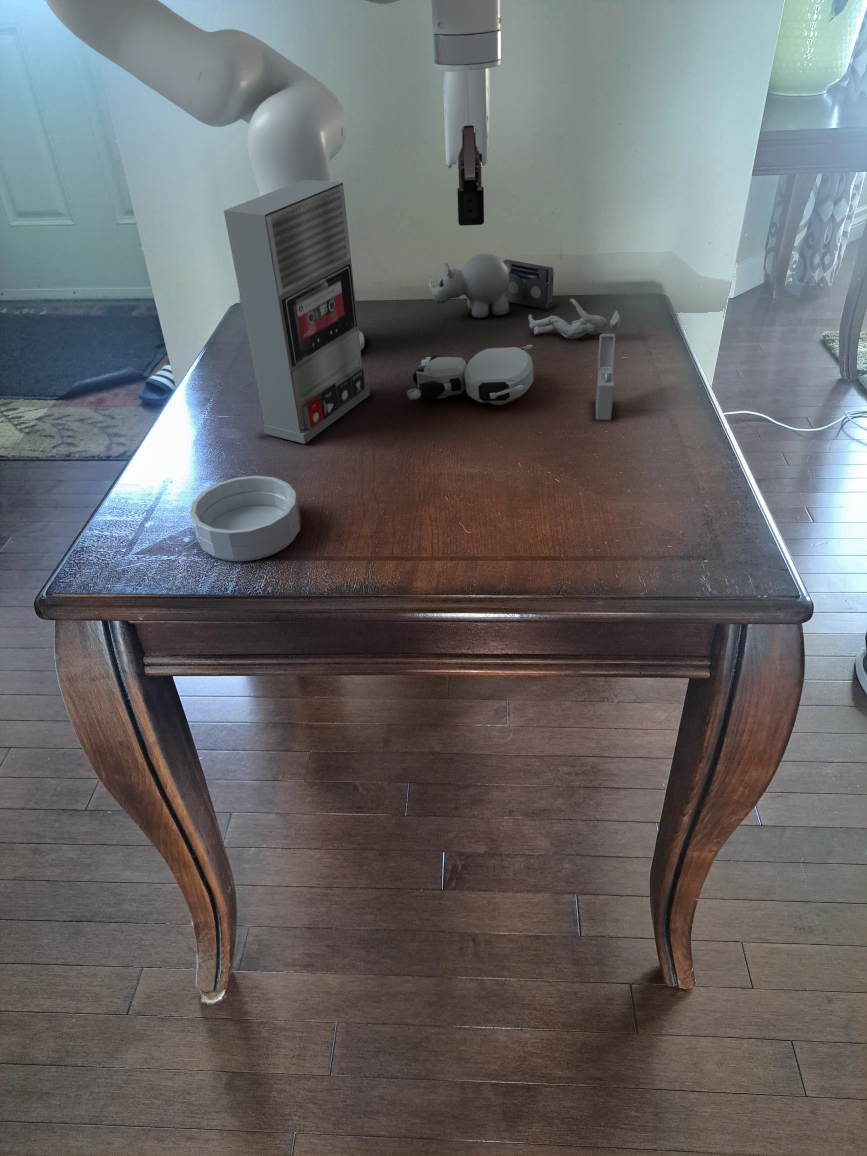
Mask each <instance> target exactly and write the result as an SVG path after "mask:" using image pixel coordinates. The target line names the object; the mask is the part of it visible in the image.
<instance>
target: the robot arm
mask: <svg viewBox="0 0 867 1156" xmlns="http://www.w3.org/2000/svg"><path fill="white" fill-rule="evenodd" d="M364 1H365V2H368V3H374V4H380V5H388V4H392V3H396V2H398V1H399V0H364ZM44 2H45V3H46V4H47V6H48V7H49V9H50V10H51V12H52V13H53V15H55V16H56V18H57V19H58V20H59V21H60V22H61V24H63V26H64V27H65V28H67V30H69V31H70V32H71V34H73V35H74V36H75V37H76V38H77V39H79V40H80V41H82V43H84V44H85V45H86V46H88V47H90V48H91V49H92V50H94V51H95V52H97V53H98V54H100V55H101V56H103V57H104V58H106V60H107V59H108V60H109V61H111V62H112V63H114V64H115V65H117V66H118V67H119V68H121V69H123V70H124V71H126V72H127V73H129V74H130V75H132V76H133V77H134V78H136V79H137V80H138V81H140V82H141V83H142V84H144V85H146V86H147V87H149V88H150V89H151V90H153V92H155V93H157V94H158V95H160V96H162V97H163V98H165V99H166V100H167V101H169V102H170V103H172V104H173V105H175V106H176V107H178V108H179V109H181V110H183V111H184V112H185V113H187V114H188V115H190V116H191V117H192V118H194V119H195V120H196V121H198V122H200V123H202V124H204V125H207V126H209V127H215V128H220V127H227V126H229V125H232V124H235V123H237V122H239V121H240V120H241V121H244V122H245V123H246V124H248V127H247V134H246V146H247V147H246V149H247V153H248V159H249V163H250V166H251V170H252V173H253V176H254V180H255V183H256V185H257V190H258V193H259V197H260V196H263V195H265V194H268V193H270V192H273V191H276V190H278V189H281V188H283V187H286V186H289V185H291V184H294V183H296V182H299V181H301V180H304V179H305V180H317V181H329V182H333V178H332V174H331V169H330V161H331V160H332V159H333V158H335V157H336V156H337V155H338V153H339V152H340V151H341V149H342V148H343V147H344V143H345V141H346V138H347V134H348V120H347V115H346V112H345V109H344V107H343V105H342V103H341V101H340V99H339V98H338V97H337V95H336V94H335V93H334V91H332V90H331V89H330V88H329V87H328V86H326V85H325V84H324V83H323V82H321V80H319V79H317V78H316V77H314V76H313V75H312V74H310V73H309V72H307V71H305V70H304V69H303V68H302V67H300V66H299V65H297V64H296V63H294V62H293V61H292V60H291V59H288V58H287V57H286V56H284V55H283V54H281V53H280V52H279V51H277V50H276V49H274V48H273V47H271V46H270V45H268V44H267V43H266V42H264V41H262V40H261V39H259V38H258V37H256V36H254V35H252V34H250V33H248V32H245V31H243V30H238V29H233V28H230V29H229V28H227V29H226V28H225V29H219V30H215V31H207V30H204V29H203V28H201V27H198V26H197V25H195V24H193V23H191V22H190V21H189V20H187V19H185V18H184V17H183V16H181V15H179V14H178V13H176V12H175V11H174V10H172V9H171V8H169V7H168V6H167V5H165V4H164V3H163V2H161V1H160V0H44ZM431 19H432V20H431V21H432V23H431V24H432V43H433V44H432V46H433V68H434V70H437V71H443V87H442V88H443V89H442V90H443V121H444V123H443V125H444V146H445V166H446V167H447V168H448V169H452V166H453V165H457V170H458V188H457V190H456V191H457V193H456V195H457V219H458V220H457V222H458V225H459V226H460V227H463V226H482V225H484V223H485V198H484V197H485V196H484V194H485V193H484V192H485V190H484V186H483V185H482V183H483V182H482V181H483V180H482V168H483V167H484V166H486V165H487V164H488V156H489V155H488V153H489V144H490V129H491V128H490V127H491V125H490V124H491V69H492V68H497V67H499V66H501V64H502V59H501V58H502V53H501V51H502V49H501V47H502V46H501V45H502V44H501V40H502V39H501V38H502V37H501V33H502V31H501V24H502V23H501V19H502V18H501V0H431ZM457 162H458V163H457ZM359 339H360V349H361V351H362V350H363V349H364V347H365V335H364V333H363V332H362V331H361V330H359Z"/></svg>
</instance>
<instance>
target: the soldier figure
mask: <svg viewBox="0 0 867 1156" xmlns="http://www.w3.org/2000/svg"><path fill="white" fill-rule="evenodd" d="M569 302H570V303H572V305H573V306H574V307H575V308H576V309H575V310H576V311H577V313H578V315H579V317H580V318H579V319H575V320H572V321H571V324H569V323H568V322H567V321H566V320H564V319H562V318H561V317H559V316H557V315H553V314H552V315H550V316H547V317H545V318H542V319H537V320H535V319H533V315H532V314H531V313H530V314H528V316H527V317H528V322H529V329H530V330H532V329H533V334H534V336H536V335H539V334H541V333H542V334H543V333H552V332H555V331H556V332H557V333H559V335H562V336H563V337H564V338H566V339H569V340H576V339H579V338H581V337H583V336H584V335H586V334H590V335H591V336H596V335H601V334H603V332H604V331H605V329H606V328H607V327H609V328H610V330H614V331H615V333H618V331H619V329H620V327H621V326H620V325H621V317H620V314H619V312H618V310H615V312H614V314H613V315H612V314H610V315H609V316H607V319H606V318H605V317H604V316H602V315H598V314H593V315H591V314H589V313H587V312H586V311H585V310H584V309H583V308H582V307H581V305H580V304H579V303H578V302H577V300H576V299H574V298H570V299H569ZM609 317H611V319H609Z"/></svg>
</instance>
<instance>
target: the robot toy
mask: <svg viewBox="0 0 867 1156" xmlns="http://www.w3.org/2000/svg"><path fill="white" fill-rule="evenodd" d="M533 346H534V345H533V344H527V345H525V346H523V347H517V346H515V347H513V346H511V347H493V348H486V349H484V350H481V351H479V352H477V353H476V354H475V355H474V356H473V357H472V358H471V359H470V360H469V361H466V360H465V359H464V358H463V357H457V356H445V355H439V354H434V355H432V356H427V357H425V358H424V359H421V361H420V364H419V365H418V366H417V368H418V369H415V371H414V372H413V374H412V381H413V382H414V384H415V385H417V387H418V388H411V389H408V390H407V392H406V396H407V397H408V399H409V400H412V401H413V400H418V399H421V400H422V401H428V400H432V399H446V398H448V397H449V396H456V395H461V394H463V392H465V391H466V394H467V396H469V397H470V398H471V399H473V400H475V401H477V402H479V403H490V404H491V405H494V406H502V405H506V404H508V403H509V402H511V401H514V400H517V399H519V398H520V397H521V396H522V395H524V394H525V393H526V392H527V391H528V390H529V389H530V387H531V385H532V383H533V381H534V379H535V378H534V365H533V359H532V356H531V355H530V354H529V353H528V352H527V351H526V350H529V349H532V347H533Z"/></svg>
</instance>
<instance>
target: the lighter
mask: <svg viewBox="0 0 867 1156" xmlns="http://www.w3.org/2000/svg"><path fill="white" fill-rule="evenodd" d="M598 339H599V341H598V355H597V357H598V358H597V359H598V360H597V370H598V371H597V380H596V392H595V419H596V420H597V421H599V420H600V421H602V420H603V421H610V420H612V412H613V403H614V402H613V400H614V392H615V391H614V390H615V378H614V363H615V361H614V360H615V345H616V334H615V333H600V334H599V338H598Z"/></svg>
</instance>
